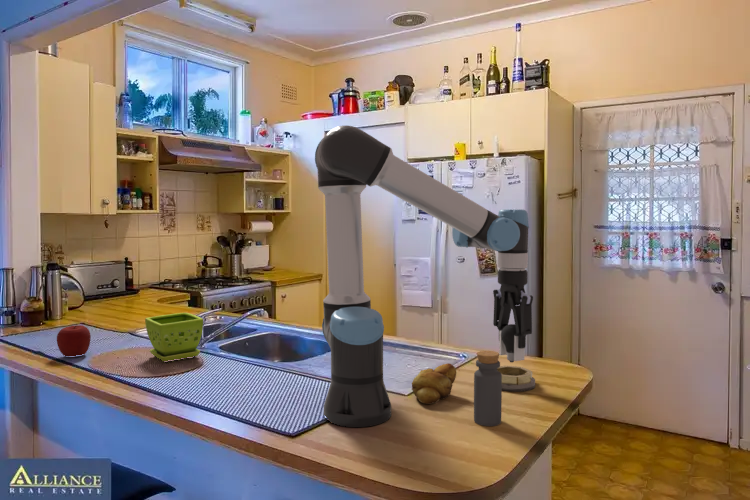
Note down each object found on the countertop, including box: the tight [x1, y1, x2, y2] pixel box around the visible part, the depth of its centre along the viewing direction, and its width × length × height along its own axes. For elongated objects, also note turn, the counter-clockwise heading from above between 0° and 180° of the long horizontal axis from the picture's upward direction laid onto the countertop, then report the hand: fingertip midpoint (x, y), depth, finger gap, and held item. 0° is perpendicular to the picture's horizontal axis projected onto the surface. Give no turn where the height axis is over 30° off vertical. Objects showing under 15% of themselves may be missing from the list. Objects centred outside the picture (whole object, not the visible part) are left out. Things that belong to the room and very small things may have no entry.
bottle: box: [473, 350, 503, 427], centre depth 119 cm, size 6×6×15 cm
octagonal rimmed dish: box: [497, 365, 536, 393], centre depth 145 cm, size 12×12×4 cm
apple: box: [56, 324, 92, 357], centre depth 175 cm, size 10×10×10 cm
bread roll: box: [411, 363, 457, 405], centre depth 134 cm, size 13×10×8 cm
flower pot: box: [144, 312, 204, 362], centre depth 173 cm, size 14×14×13 cm
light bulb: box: [501, 323, 517, 363], centre depth 144 cm, size 6×6×10 cm
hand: (511, 357), depth 144 cm, fingers closed on light bulb, 6 cm apart
